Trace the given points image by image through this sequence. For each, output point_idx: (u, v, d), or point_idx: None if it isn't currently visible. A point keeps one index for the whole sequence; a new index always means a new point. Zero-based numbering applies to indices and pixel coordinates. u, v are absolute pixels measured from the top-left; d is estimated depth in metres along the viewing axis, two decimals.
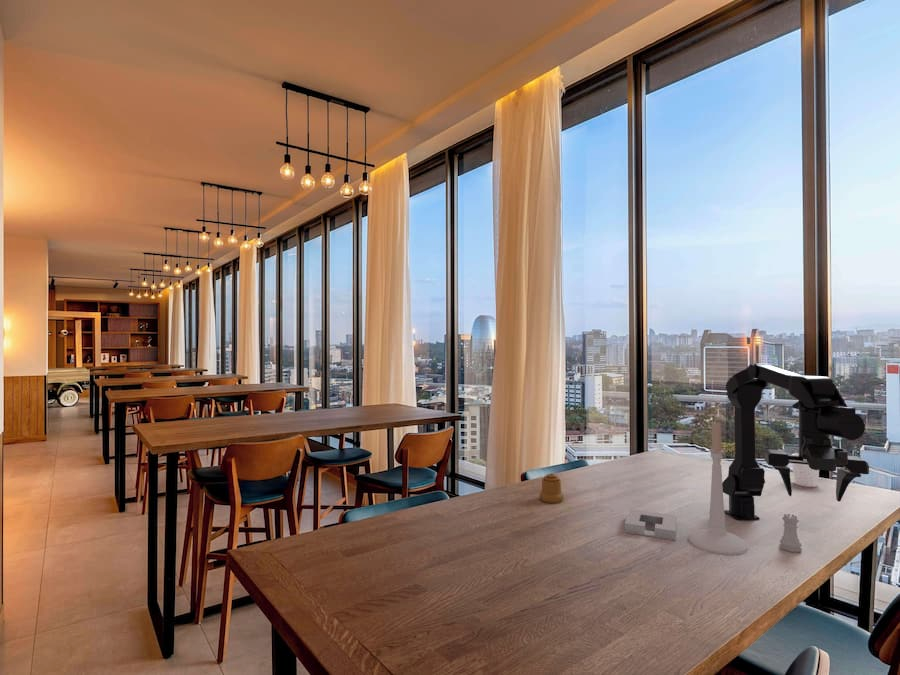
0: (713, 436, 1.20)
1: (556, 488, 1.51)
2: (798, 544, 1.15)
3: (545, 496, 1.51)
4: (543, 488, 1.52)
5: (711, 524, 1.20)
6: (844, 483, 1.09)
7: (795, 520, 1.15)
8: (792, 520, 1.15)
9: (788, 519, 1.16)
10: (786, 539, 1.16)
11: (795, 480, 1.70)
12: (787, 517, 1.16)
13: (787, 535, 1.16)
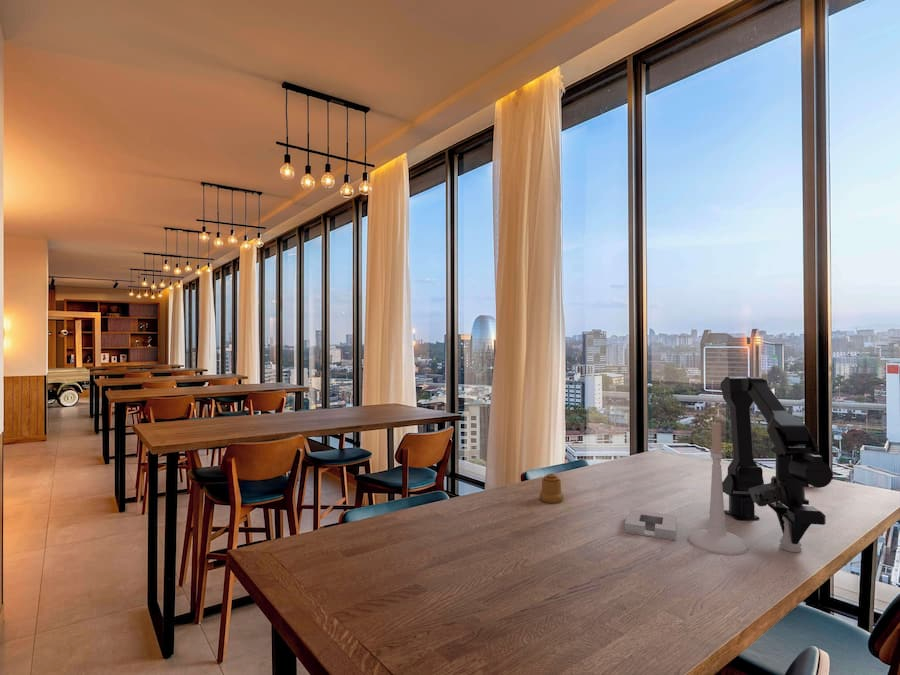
0: (713, 436, 1.20)
1: (556, 488, 1.51)
2: (798, 544, 1.15)
3: (545, 496, 1.51)
4: (543, 488, 1.52)
5: (711, 524, 1.20)
6: (789, 525, 1.14)
7: None
8: None
9: None
10: (786, 539, 1.16)
11: None
12: None
13: (787, 535, 1.16)
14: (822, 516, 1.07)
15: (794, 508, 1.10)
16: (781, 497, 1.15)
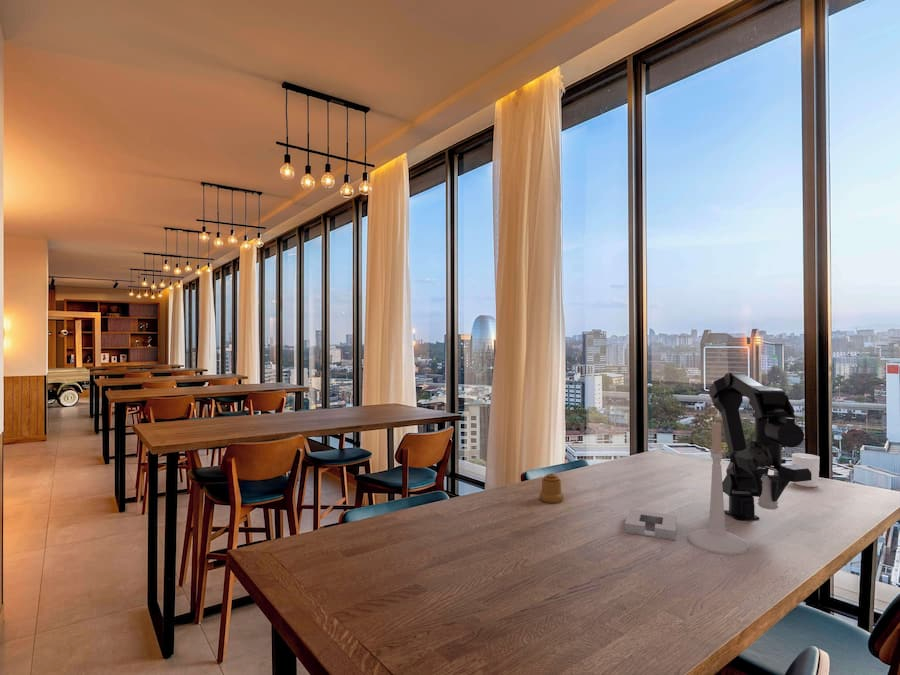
0: (713, 436, 1.20)
1: (557, 488, 1.51)
2: (776, 501, 1.23)
3: (545, 496, 1.51)
4: (543, 488, 1.52)
5: (711, 524, 1.20)
6: (773, 485, 1.21)
7: None
8: None
9: (768, 479, 1.23)
10: (767, 498, 1.23)
11: None
12: (767, 477, 1.23)
13: (767, 494, 1.23)
14: (810, 472, 1.16)
15: (787, 468, 1.17)
16: (768, 459, 1.21)
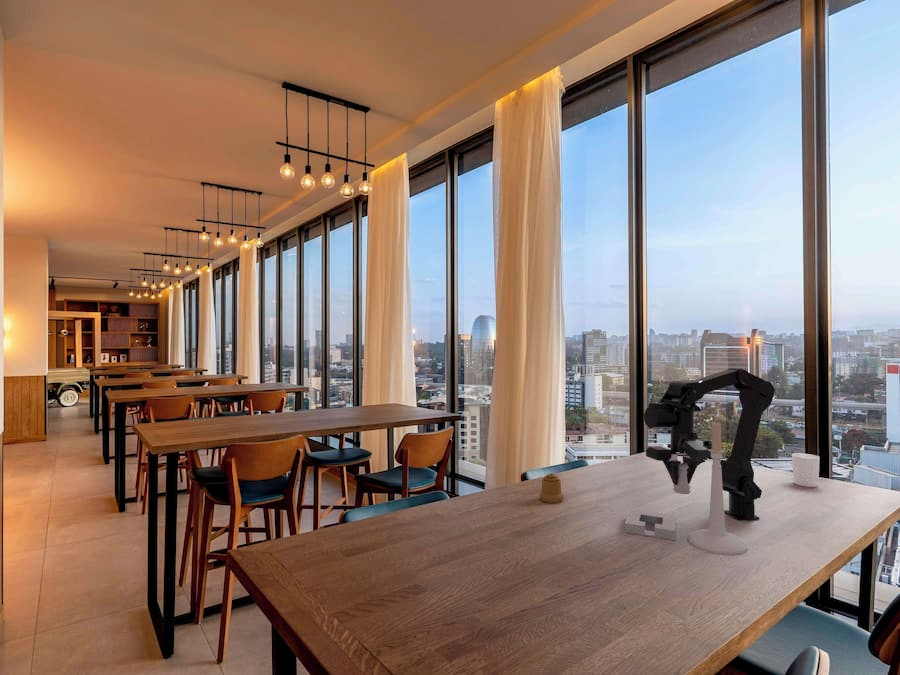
0: (713, 436, 1.20)
1: (557, 488, 1.51)
2: None
3: (545, 496, 1.51)
4: (543, 488, 1.52)
5: (711, 524, 1.20)
6: (693, 468, 1.33)
7: None
8: (686, 465, 1.34)
9: (687, 465, 1.33)
10: (687, 483, 1.33)
11: (795, 480, 1.70)
12: (686, 464, 1.33)
13: None
14: None
15: None
16: None
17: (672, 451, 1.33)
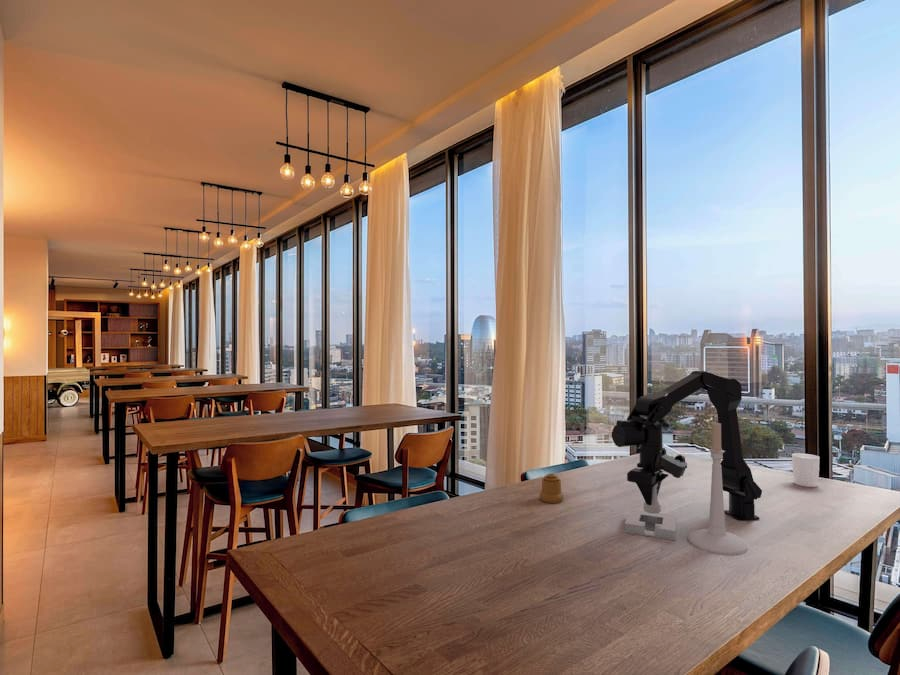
0: (713, 436, 1.20)
1: (557, 488, 1.51)
2: None
3: (545, 496, 1.51)
4: (543, 488, 1.52)
5: (711, 524, 1.20)
6: (659, 484, 1.31)
7: None
8: None
9: None
10: None
11: (795, 480, 1.70)
12: None
13: None
14: None
15: None
16: None
17: None
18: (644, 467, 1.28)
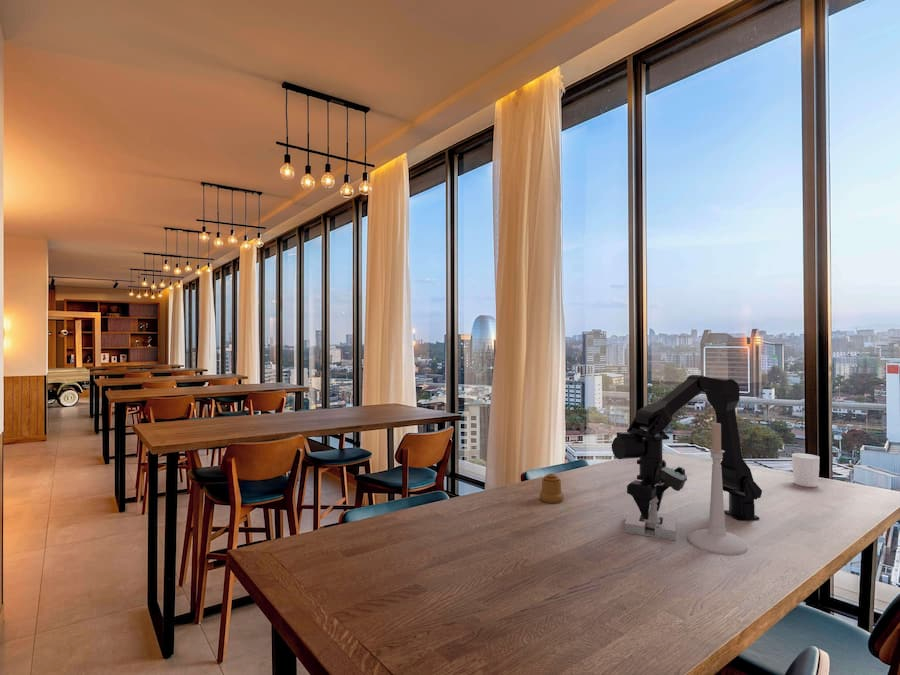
0: (713, 436, 1.20)
1: (557, 488, 1.51)
2: None
3: (545, 496, 1.51)
4: (543, 488, 1.52)
5: (711, 524, 1.20)
6: (662, 495, 1.32)
7: None
8: None
9: None
10: None
11: (795, 480, 1.70)
12: None
13: None
14: None
15: None
16: None
17: None
18: (644, 479, 1.28)
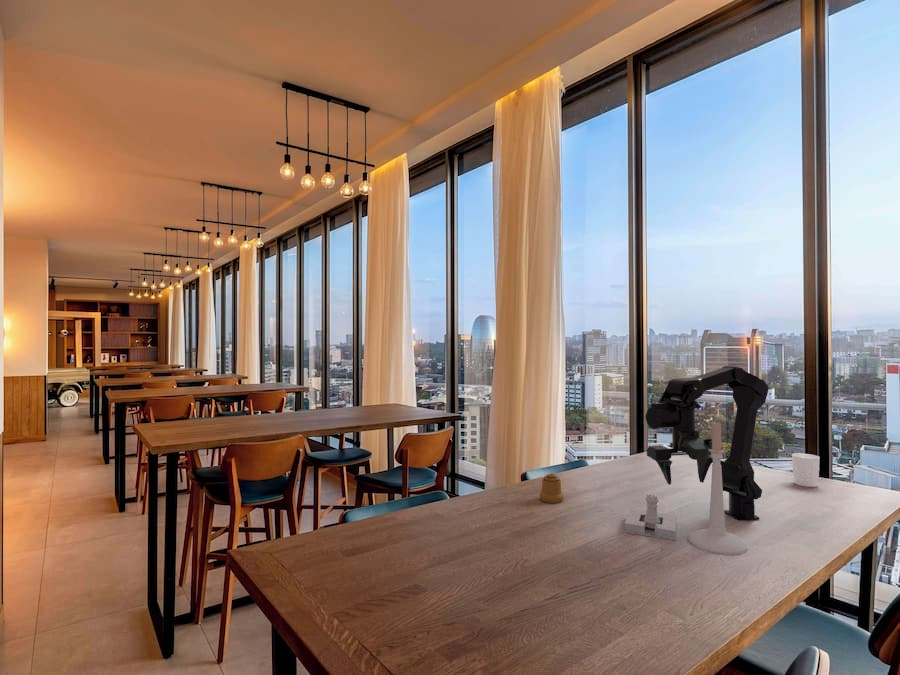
0: (713, 436, 1.20)
1: (557, 488, 1.51)
2: None
3: (545, 496, 1.51)
4: (543, 488, 1.52)
5: (711, 524, 1.20)
6: (706, 466, 1.31)
7: None
8: None
9: None
10: None
11: (795, 480, 1.70)
12: None
13: None
14: None
15: None
16: None
17: (673, 450, 1.31)
18: (673, 446, 1.33)
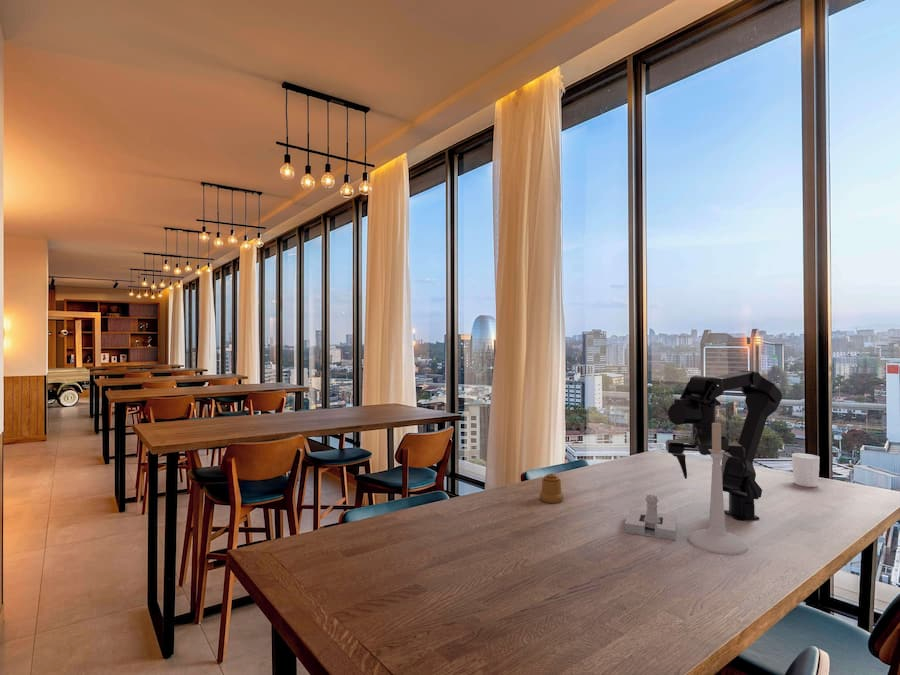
0: (713, 436, 1.20)
1: (557, 488, 1.51)
2: None
3: (545, 496, 1.51)
4: (543, 488, 1.52)
5: (711, 524, 1.20)
6: (727, 466, 1.30)
7: None
8: None
9: None
10: None
11: (795, 480, 1.70)
12: None
13: None
14: None
15: (735, 446, 1.29)
16: None
17: (691, 445, 1.33)
18: (692, 442, 1.35)
